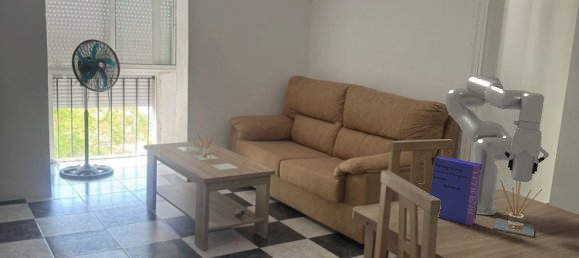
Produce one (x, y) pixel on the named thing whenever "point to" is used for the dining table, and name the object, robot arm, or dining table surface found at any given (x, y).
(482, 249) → the dining table surface
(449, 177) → the cereal box
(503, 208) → the dining table surface
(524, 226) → the mat
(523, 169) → the can
